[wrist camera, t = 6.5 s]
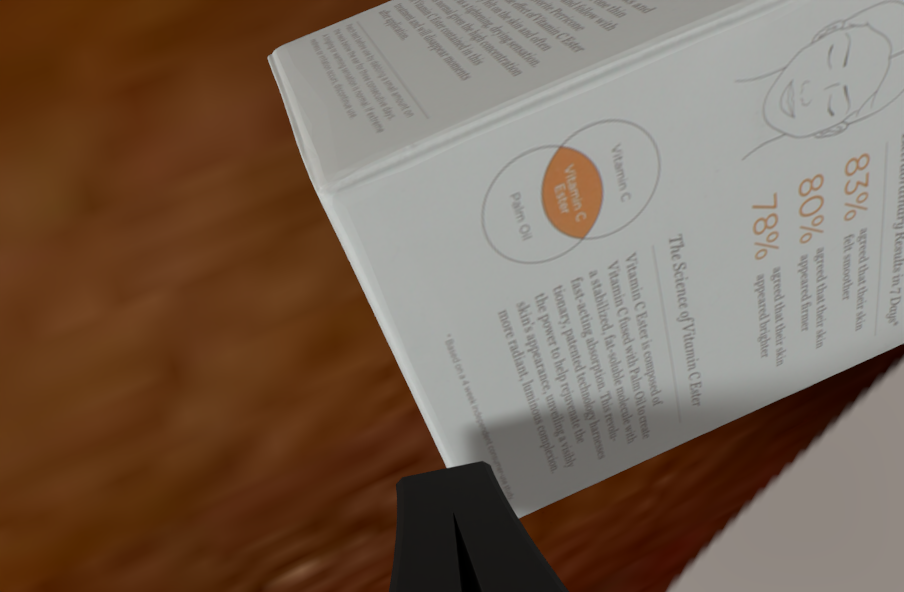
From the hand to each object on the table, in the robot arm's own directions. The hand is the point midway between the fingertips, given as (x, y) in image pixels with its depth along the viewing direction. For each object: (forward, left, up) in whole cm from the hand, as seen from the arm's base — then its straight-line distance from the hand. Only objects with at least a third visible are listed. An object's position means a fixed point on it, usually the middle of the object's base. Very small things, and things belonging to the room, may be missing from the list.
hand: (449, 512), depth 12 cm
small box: (+1, +1, -4) cm, 5 cm away
